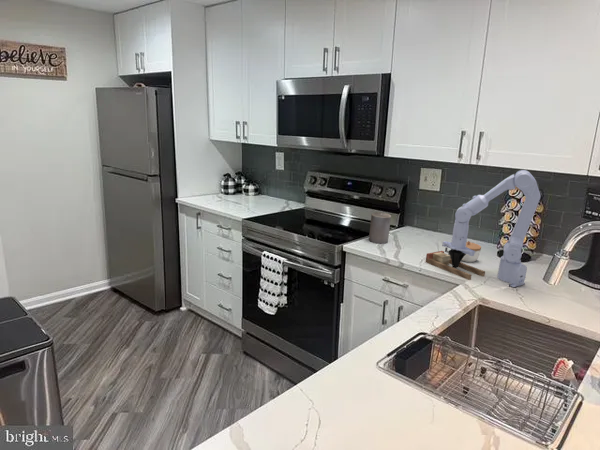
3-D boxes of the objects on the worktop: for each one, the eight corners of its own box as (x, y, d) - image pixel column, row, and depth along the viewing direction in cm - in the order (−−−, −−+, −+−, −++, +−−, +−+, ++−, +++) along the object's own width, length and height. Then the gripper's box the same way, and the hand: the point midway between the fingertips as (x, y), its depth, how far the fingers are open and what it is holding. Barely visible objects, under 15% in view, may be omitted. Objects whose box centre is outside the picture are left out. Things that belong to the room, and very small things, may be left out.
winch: (455, 263, 191) (457, 250, 189) (451, 264, 189) (453, 251, 187) (446, 259, 195) (447, 247, 193) (441, 260, 193) (443, 247, 192)
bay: (484, 278, 174) (486, 266, 173) (468, 282, 169) (470, 270, 167) (440, 261, 192) (442, 250, 190) (425, 264, 186) (426, 253, 185)
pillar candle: (367, 237, 222) (370, 209, 218) (386, 238, 222) (389, 210, 218) (369, 243, 213) (372, 214, 209) (389, 244, 213) (392, 215, 209)
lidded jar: (451, 262, 191) (454, 242, 189) (455, 255, 201) (458, 236, 198) (477, 267, 187) (480, 246, 184) (479, 260, 196) (483, 240, 193)
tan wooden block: (449, 264, 185) (450, 255, 184) (441, 266, 182) (442, 257, 181) (439, 260, 189) (441, 252, 188) (431, 262, 186) (433, 253, 185)
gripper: (439, 232, 180) (434, 263, 183) (468, 241, 168) (463, 274, 172) (450, 230, 184) (445, 260, 187) (480, 239, 172) (474, 271, 175)
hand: (455, 267), depth 180 cm, fingers closed
